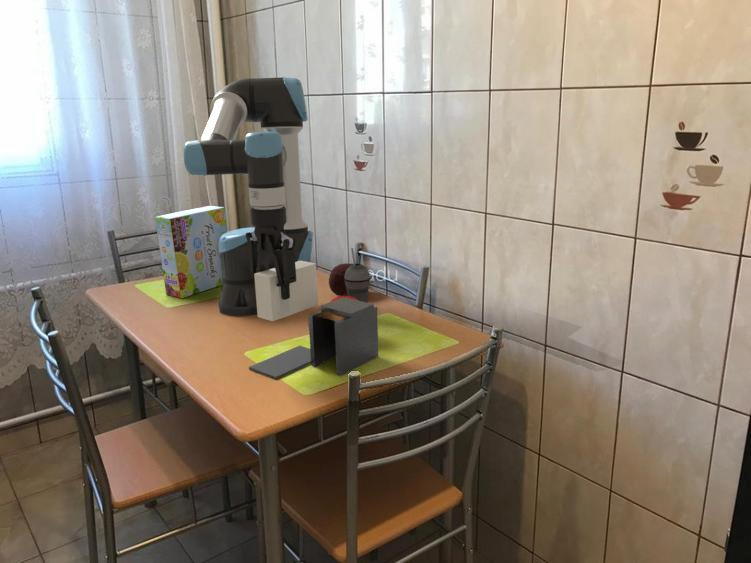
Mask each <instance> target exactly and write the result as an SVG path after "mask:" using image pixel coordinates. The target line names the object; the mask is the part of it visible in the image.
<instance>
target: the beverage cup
mask: <svg viewBox="0 0 751 563" xmlns="http://www.w3.org/2000/svg"><path fill="white" fill-rule="evenodd" d="M350 250H351V257H352V262H353V263H352V264H353V265H351V266H349V267H348V268H347V270H346V272H345V277H344V280H345V285H346V289H347V296H351V297H354V298H357V299H358V300H359V301H362V302H366V303H369V301H368V300H369V288H370V282H371V275H370V271H369V269H368V268H367V267H366V265H364V264H361V263H356V260H355V258H356V257H355V254H354V248H353V247H351V249H350Z"/></svg>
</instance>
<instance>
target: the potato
mask: <svg viewBox="0 0 751 563" xmlns="http://www.w3.org/2000/svg"><path fill="white" fill-rule="evenodd" d="M351 265H353V263H349V262H345V263H340V264H338V265H336V266H335V267H333V268H332V269H331V271H330V273H329V278H328V286H329V288H330V290H331V292H332V293H333V294H335V296H337V297H339V296H344V293H345V296H347V289H346V285H345V280H344V277H345V272H346V270H347V268H348V267H349V266H351Z"/></svg>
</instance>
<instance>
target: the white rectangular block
mask: <svg viewBox="0 0 751 563" xmlns="http://www.w3.org/2000/svg"><path fill="white" fill-rule="evenodd" d="M295 267H296V282H293V283H290V285H289V289H290V298H289V312H286V313H283V314H281V315H280V314H278V305H277V290H276V284H279V282H278V278H277V274H276V270H275V268H273V269H269V270H266V271H262V272H258V273H255V274H254V277H255V290H256V302H257V314H256V315H257V318H260V319H263V320H267V321H270V322H275V321H278V320H280V319H283V318H286V317H289V316H291V315H295V314H297V313H301V312H303V311H305V310H308V309H311V308H313V307H316V306H319V298H318V297H319V296H318V280H317V277H318V275H317V263H314V262H312V261H311V262H306V261H297V262H295ZM283 279H284V278H283Z"/></svg>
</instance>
